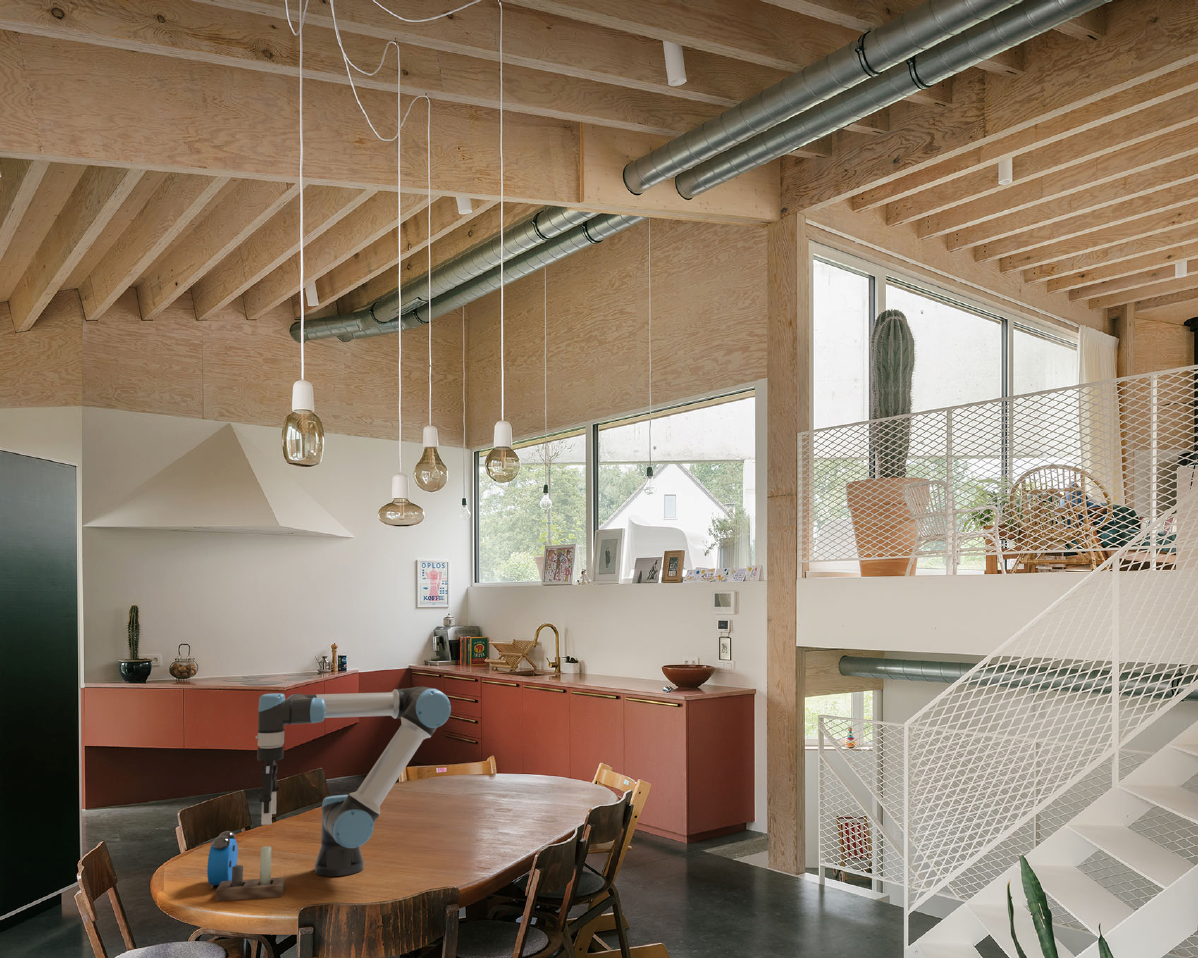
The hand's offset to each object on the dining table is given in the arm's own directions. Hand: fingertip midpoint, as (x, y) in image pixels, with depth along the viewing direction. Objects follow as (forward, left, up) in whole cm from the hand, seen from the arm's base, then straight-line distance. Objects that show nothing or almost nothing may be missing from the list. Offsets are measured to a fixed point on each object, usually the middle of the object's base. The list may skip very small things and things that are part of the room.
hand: (268, 819), depth 285 cm
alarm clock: (+14, -11, -21) cm, 28 cm away
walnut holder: (+4, +1, -21) cm, 21 cm away
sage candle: (0, +1, -21) cm, 21 cm away
